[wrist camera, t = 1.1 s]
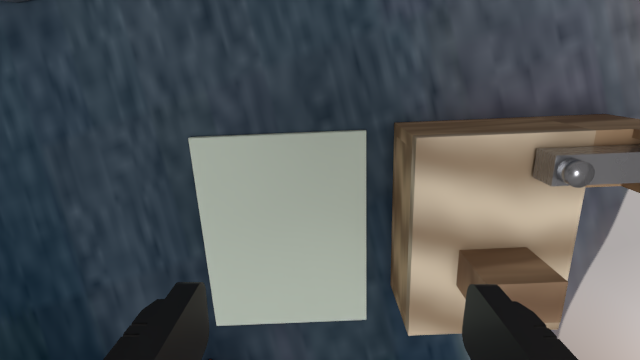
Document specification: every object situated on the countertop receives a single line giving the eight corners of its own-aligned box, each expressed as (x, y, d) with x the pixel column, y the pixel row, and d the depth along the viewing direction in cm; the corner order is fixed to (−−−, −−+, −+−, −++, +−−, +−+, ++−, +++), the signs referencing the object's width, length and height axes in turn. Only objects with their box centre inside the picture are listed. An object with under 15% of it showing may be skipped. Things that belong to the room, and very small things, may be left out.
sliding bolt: (537, 148, 24) (567, 159, 21) (656, 143, 24) (703, 153, 21) (532, 177, 24) (561, 191, 22) (649, 172, 24) (694, 186, 22)
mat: (190, 137, 31) (188, 138, 30) (365, 129, 31) (366, 130, 30) (218, 321, 36) (216, 325, 36) (365, 315, 36) (366, 319, 36)
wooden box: (394, 122, 30) (430, 147, 21) (604, 113, 30) (737, 134, 21) (390, 284, 35) (418, 365, 26) (572, 277, 35) (668, 354, 26)
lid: (409, 133, 25) (438, 153, 19) (577, 126, 25) (658, 144, 19) (403, 320, 30) (424, 382, 24) (544, 314, 30) (600, 375, 24)
